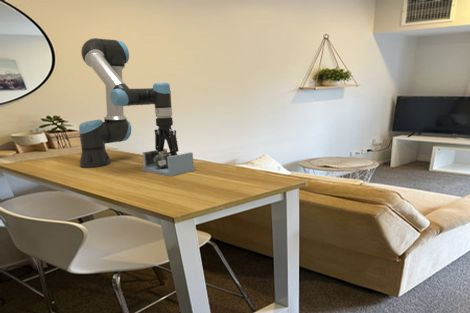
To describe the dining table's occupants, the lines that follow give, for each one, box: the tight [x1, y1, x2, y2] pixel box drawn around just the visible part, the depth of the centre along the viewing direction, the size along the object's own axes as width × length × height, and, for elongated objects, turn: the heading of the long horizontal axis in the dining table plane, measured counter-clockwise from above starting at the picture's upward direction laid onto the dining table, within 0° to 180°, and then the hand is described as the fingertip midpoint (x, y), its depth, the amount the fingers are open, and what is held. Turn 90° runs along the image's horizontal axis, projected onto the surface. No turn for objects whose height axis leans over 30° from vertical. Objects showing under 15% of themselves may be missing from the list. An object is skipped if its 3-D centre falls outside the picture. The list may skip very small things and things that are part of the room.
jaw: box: [142, 148, 168, 167], centre depth 166 cm, size 2×13×7 cm, turn 137°
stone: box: [154, 151, 179, 167], centre depth 160 cm, size 14×7×10 cm, turn 138°
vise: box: [141, 152, 195, 177], centre depth 160 cm, size 22×14×8 cm, turn 47°
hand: (167, 165), depth 160 cm, fingers closed on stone, 7 cm apart
